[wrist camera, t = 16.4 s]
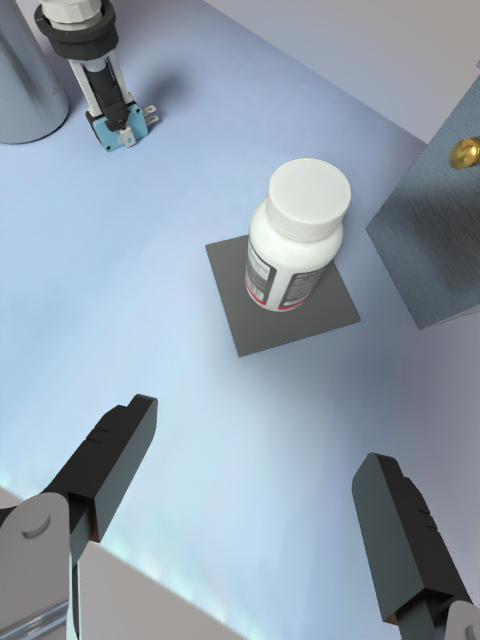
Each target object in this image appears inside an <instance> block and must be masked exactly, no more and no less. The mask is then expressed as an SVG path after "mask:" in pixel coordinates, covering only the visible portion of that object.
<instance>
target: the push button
mask: <svg viewBox="0 0 480 640" xmlns="http://www.w3.org/2000/svg"><path fill="white" fill-rule="evenodd" d="M40 1H41V4H40V5H39V6H38V7H37V9H36V11H35V14H34V19H35V22H36V24H37V26H38V28H39V30H40V31H41V32H42V33H43V34H44V35H45V36H47V37H48V39H49V41H50V43H51V45H52V47H53V49H54V51H55V52H56V53H57V54H58V55H60V56H62V57H63V58H65V59H68V61H69V63H70V65H71V67H72V69H73V71H74V74H75V76H76V78H77V80H78V82H79V84H80V86H81V89H82V91H83V93H84V95H85V97H86V99H87V101H88V103H89V107H88V111H87V112H86V117H87V119H88V121H89V123H90V125H91V127H92V129H93V131H94V133H95V135H96V137H97V139H98V140H99V141H100V143H101V144H102V145H103V147H104V148H105V150H106V151H107V152H111V151H113V150H115V149H117V148H119V147H122V146H124V145H125V146H126V147H130V146H132V145H134V144H135V142H136V141H135V140H137V139H140V138H142V137H144V136H146V135H147V134H148V129H147V126H149V125H151V124H150V123H153V122H155V121H157V120H159V118H158V117H157V116H156V115H153V116H150V117H148V118H144V117H145V116H147V115H148V114H149V113H151V112H154V111H156V108H155V107H154V106H153V105H151V106H148V107H146V108H144V109H143V108H140V107H139V106H138V105H137V103H136V102H135V101H134V100H133V97H132V95H131V93H130V92H128V91H127V88H126V85H125V82H124V79H123V76H122V73H121V69H120V66H119V63H118V60H117V57H116V54H115V51H114V48H115V47H116V45H117V43H118V41H119V38H118V35H117V31H116V28H115V25H114V23H115V20H116V15H115V11H114V8H113V5H112V4H111V2H110V1H109V0H40ZM104 58H107V61H108V63H107V62H106V61H105V59H104ZM80 63H83V64H84V70H85V73H86V75H87V77H88V80H89V83H88V81H87V78H86V76H85V74H84V72H83V69H82V67H81V65H80ZM108 64H109V66H108ZM109 67H110V69H111V71H110V69H109ZM111 72H112V74H111ZM112 75H113V77H112ZM113 78H114V80H115V81H114V80H113ZM149 108H152V110H148V109H149ZM151 118H155V119H154V120H151Z"/></svg>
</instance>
